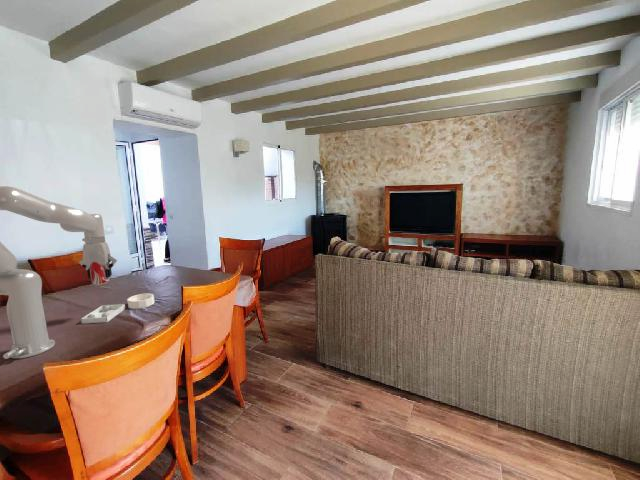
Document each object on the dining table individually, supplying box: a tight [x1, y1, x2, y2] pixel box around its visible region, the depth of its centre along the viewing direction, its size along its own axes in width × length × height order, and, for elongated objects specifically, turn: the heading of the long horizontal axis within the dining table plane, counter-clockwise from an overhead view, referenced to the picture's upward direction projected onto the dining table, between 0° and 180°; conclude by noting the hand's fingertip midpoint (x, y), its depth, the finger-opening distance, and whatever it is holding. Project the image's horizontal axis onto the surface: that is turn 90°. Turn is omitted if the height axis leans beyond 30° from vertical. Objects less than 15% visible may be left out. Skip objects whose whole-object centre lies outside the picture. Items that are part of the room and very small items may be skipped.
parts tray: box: [80, 303, 126, 325], centre depth 144 cm, size 16×11×2 cm
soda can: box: [89, 260, 110, 286], centre depth 141 cm, size 7×7×12 cm
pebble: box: [102, 304, 110, 311], centre depth 149 cm, size 3×3×3 cm
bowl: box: [126, 292, 155, 310], centre depth 158 cm, size 12×12×4 cm
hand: (100, 277), depth 142 cm, fingers closed on soda can, 7 cm apart
